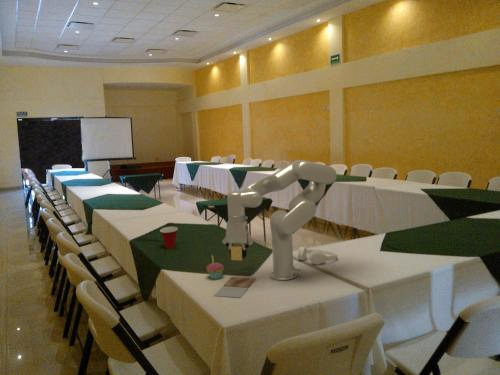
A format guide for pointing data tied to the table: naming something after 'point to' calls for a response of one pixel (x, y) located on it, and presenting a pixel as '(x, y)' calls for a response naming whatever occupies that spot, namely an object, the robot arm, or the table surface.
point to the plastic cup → (169, 236)
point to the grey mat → (231, 292)
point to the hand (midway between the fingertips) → (238, 257)
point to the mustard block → (236, 252)
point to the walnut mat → (240, 282)
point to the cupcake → (215, 269)
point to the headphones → (316, 255)
